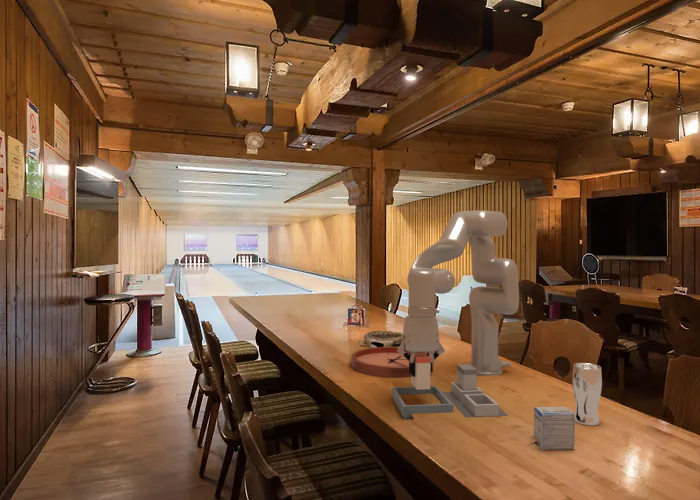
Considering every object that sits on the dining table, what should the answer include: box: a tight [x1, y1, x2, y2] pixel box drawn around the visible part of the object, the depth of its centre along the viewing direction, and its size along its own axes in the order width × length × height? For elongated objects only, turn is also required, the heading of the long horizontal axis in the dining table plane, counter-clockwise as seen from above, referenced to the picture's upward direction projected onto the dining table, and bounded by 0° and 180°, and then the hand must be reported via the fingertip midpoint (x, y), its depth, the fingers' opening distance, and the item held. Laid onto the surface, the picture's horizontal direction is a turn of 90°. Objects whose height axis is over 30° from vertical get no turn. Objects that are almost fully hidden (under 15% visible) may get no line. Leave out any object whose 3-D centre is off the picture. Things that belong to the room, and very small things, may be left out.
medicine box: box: [533, 406, 576, 451], centre depth 106 cm, size 8×4×9 cm, turn 92°
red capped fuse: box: [410, 352, 431, 390], centre depth 130 cm, size 4×6×9 cm, turn 6°
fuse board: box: [442, 381, 509, 418], centre depth 129 cm, size 12×20×4 cm, turn 6°
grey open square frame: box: [391, 385, 454, 420], centre depth 130 cm, size 14×16×4 cm
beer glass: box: [572, 362, 603, 427], centre depth 120 cm, size 7×7×15 cm
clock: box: [350, 346, 427, 379], centre depth 174 cm, size 31×4×31 cm
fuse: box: [456, 363, 478, 391], centre depth 135 cm, size 4×6×9 cm, turn 6°
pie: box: [358, 330, 403, 348], centre depth 213 cm, size 28×27×5 cm
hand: (420, 374), depth 130 cm, fingers closed on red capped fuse, 4 cm apart
